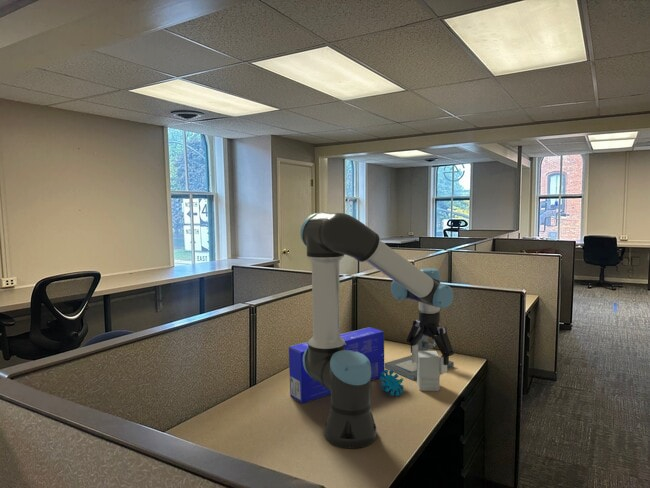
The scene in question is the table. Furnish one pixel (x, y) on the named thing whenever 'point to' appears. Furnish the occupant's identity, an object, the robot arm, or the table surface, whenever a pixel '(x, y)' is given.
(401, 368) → the plate
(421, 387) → the supplement box
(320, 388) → the toner cartridge box
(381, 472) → the table surface
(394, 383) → the gear
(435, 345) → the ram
